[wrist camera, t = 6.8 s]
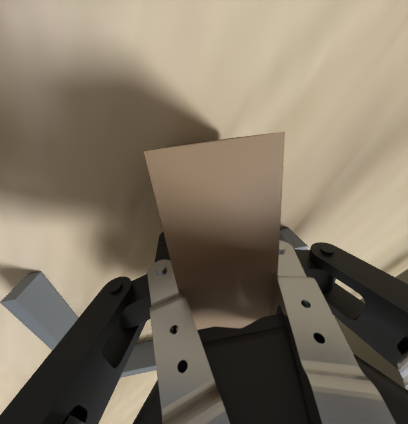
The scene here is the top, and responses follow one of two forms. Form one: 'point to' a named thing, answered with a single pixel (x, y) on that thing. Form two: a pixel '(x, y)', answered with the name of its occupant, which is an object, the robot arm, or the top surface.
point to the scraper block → (222, 223)
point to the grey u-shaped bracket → (65, 318)
